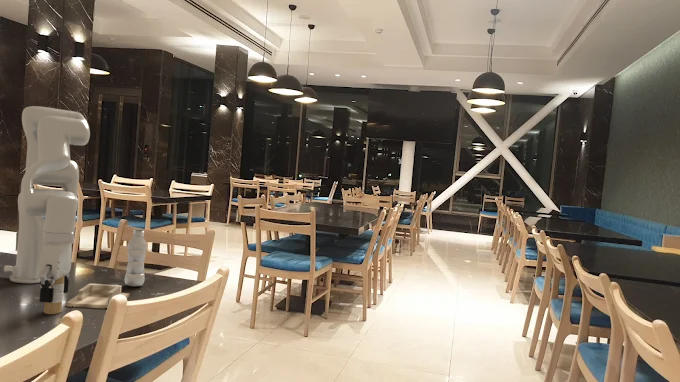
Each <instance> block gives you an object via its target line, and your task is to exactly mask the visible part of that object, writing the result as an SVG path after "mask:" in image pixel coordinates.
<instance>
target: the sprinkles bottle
mask: <svg viewBox="0 0 680 382" xmlns="http://www.w3.org/2000/svg"><path fill="white" fill-rule="evenodd" d="M64 273H65V271H64ZM47 277H50V276H47ZM48 281H49V283H50V282H51V280H48ZM52 288H54V294H53V302H51V303H48V302H44V310H43V313H44V314H46V315H55V314H56V315H57V314H60V313H61V312H62V311H63V308H62V306H63V301H64V293H63V291H64V274H63V277H61V278H59V279H57V280H55V282H54V284H53V287H52Z"/></svg>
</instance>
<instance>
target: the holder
mask: <svg viewBox="0 0 680 382" xmlns="http://www.w3.org/2000/svg"><path fill="white" fill-rule="evenodd" d="M122 287H123V286H122V285H119V284H104V283H103V284H102V283H88V284H86V285H84V286H83V287H82V288H80V289H79V290H78V292H77V293H78V294H77V295H76V296H75V297H73V298H71V299H69V300H68V301H67V302H66V303H65V307H70V308H71V307H72V306H73V308H88V309H89V308H92V309H105V308H107V305H108V302H109V300H110V298H111V297H113V296H114V295H117V294H123V295H125V296H126V297H127V299H128V298H129V297H130V293H129V292H128V293H127V292H122Z"/></svg>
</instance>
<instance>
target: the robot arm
mask: <svg viewBox="0 0 680 382" xmlns="http://www.w3.org/2000/svg"><path fill="white" fill-rule="evenodd" d="M21 124H22V128H23V129H22V130H23V132H24V135H25V137H26V143H27V144H26V145H27V147H26V149H27V150H26V161H25V173H23V177H22V179H21V183H20V193H19V194H18V197H17V207H18V237H17V250H16V263H15V265H14V266H13V265H5V266H3V272H4V273H11V275H10V276H9V281H10V282H13V283H19V284H40V285H39V289H40V292H39V293H40V294H39V302H40V303H45V302H48V303H51V302H53V294H54V288H52V287H53V284H54V282H55V280H57V279H59V278H61V277H63V274H64V291H63V294H68V292H69V286H70V285H69V283H70V272H71V268H72V258H73V257H72V255H73V254H72V253H73V252H72V251H73V250H72V248H73V246H72V245H73V244H75V243H74V242H75V232H76V231H75V230H76V219H77V210H78V207H79V199H78V191H79V182H80V170H79V165H78V163H77V162H75V161H74V160H71V151H70V148H71V147H70V145H72V146H73V145H74V146H85V145H88V143H89V140H90V137H91V131H90V126H89V123H88V121H87V119H86V118H85V117H84V115H83V114H82V113H81V112H78V111H74V110H73V111H72V110H69V109H68V110H66V109H60V108H55V107H48V106H47V107H46V106H40V105H39V106H37V105H36V106H35V105H32V106H27V107H24V108H23V111H22V113H21ZM34 185H40V186H54V187H55V186H56V187H61V188H62V189H53V188H34ZM64 271H65V273H64ZM47 276H50V277H47ZM48 280H51V282H50V283H49V281H48Z"/></svg>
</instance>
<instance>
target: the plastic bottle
mask: <svg viewBox="0 0 680 382" xmlns="http://www.w3.org/2000/svg"><path fill="white" fill-rule="evenodd" d="M144 236H145V230H143V229H133V231H132V237H131V238H130V239H129V241H128V243H127V266H126V273H125V274H124V284H125V285H126V286H128V287H134V288H135V287H141V286H143V285H144V282H145V278H146V277H145V259H146V252H147V249H148V243H147V241H146V239H145V238H144Z"/></svg>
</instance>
